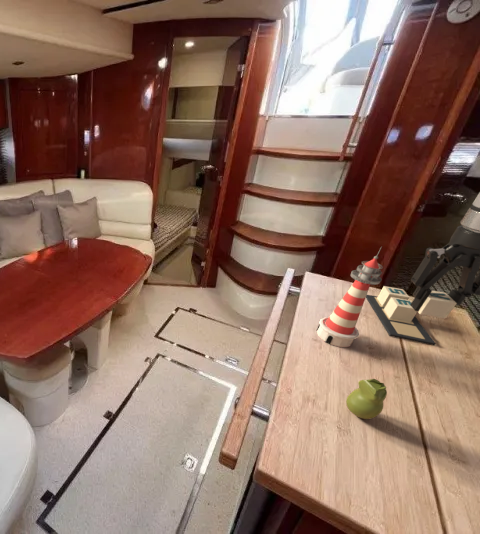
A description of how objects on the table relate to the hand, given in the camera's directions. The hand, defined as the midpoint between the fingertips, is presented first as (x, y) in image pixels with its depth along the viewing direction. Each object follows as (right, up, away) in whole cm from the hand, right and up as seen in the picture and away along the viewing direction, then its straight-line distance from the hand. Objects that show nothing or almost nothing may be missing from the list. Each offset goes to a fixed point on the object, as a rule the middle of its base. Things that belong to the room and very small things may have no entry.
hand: (428, 310), depth 81 cm
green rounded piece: (-30, -22, -12) cm, 39 cm away
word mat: (+8, -5, +16) cm, 18 cm away
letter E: (+8, -4, +15) cm, 18 cm away
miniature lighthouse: (-18, -10, +9) cm, 22 cm away
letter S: (+11, -1, +21) cm, 24 cm away
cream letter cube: (0, 0, 0) cm, 0 cm away
